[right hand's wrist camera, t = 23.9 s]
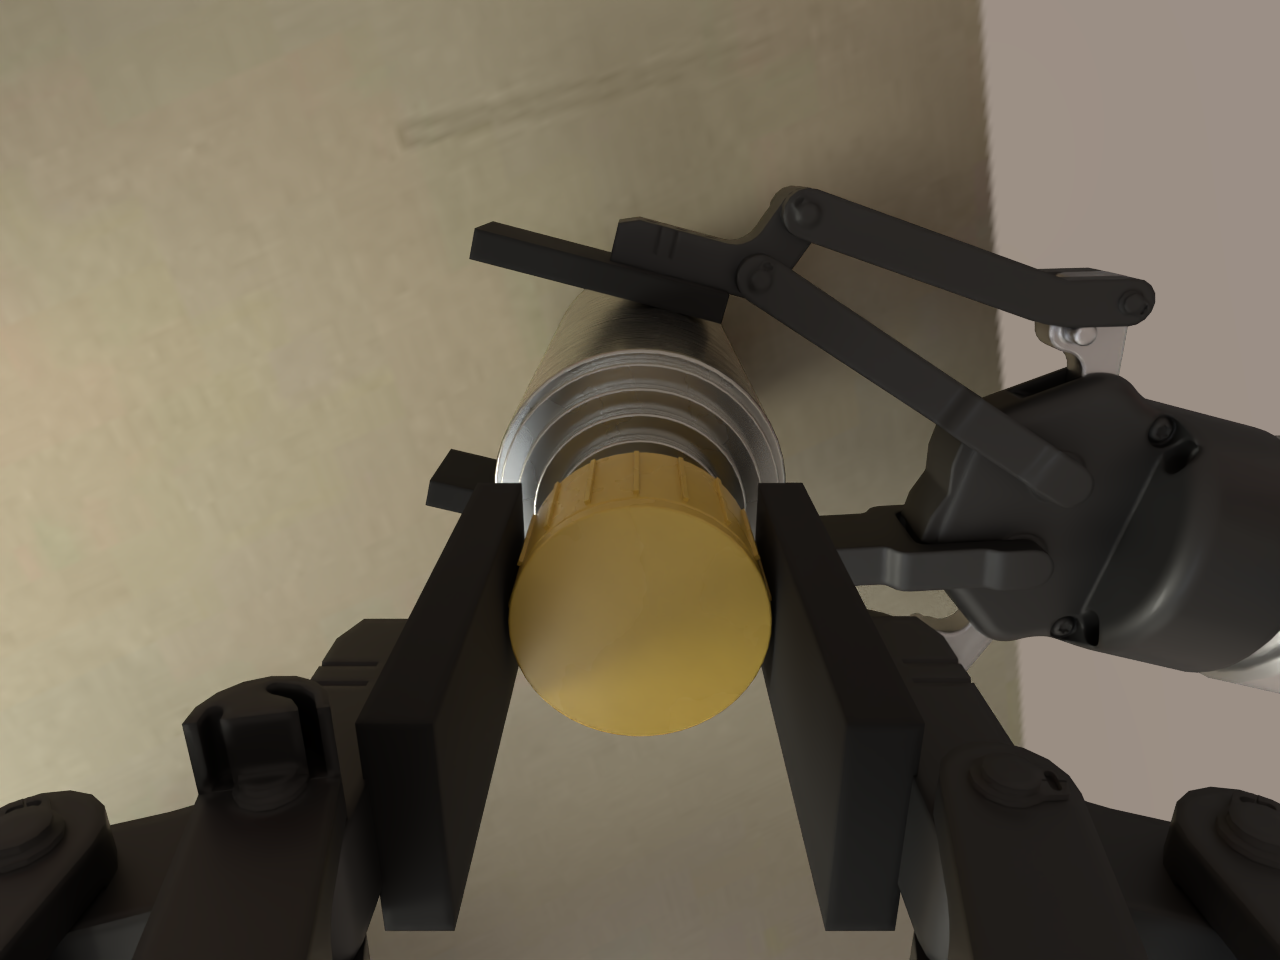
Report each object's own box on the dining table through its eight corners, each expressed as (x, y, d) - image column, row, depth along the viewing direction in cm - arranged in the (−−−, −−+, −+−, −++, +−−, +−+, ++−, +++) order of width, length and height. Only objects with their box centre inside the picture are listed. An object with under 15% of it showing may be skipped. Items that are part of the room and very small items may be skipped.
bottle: (551, 269, 28) (426, 416, 12) (728, 269, 28) (852, 415, 12) (557, 438, 31) (460, 762, 14) (722, 438, 31) (820, 761, 14)
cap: (627, 399, 13) (625, 446, 11) (803, 545, 14) (833, 615, 12) (479, 567, 15) (450, 639, 12) (652, 692, 16) (654, 781, 13)
